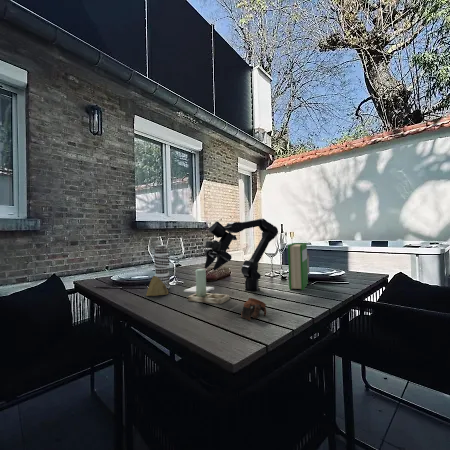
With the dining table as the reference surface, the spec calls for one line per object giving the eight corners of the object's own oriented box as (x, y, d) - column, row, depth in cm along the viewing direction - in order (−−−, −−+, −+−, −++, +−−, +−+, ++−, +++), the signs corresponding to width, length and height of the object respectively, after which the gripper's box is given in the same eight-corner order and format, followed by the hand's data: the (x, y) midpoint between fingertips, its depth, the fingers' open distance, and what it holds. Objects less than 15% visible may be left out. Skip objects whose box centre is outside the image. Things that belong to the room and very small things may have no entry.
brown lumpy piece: (236, 316, 115) (243, 296, 118) (257, 325, 116) (264, 305, 118) (244, 317, 104) (252, 295, 106) (268, 327, 104) (275, 305, 107)
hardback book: (303, 290, 152) (301, 245, 153) (289, 289, 155) (287, 245, 155) (307, 284, 169) (306, 242, 169) (295, 283, 172) (293, 242, 172)
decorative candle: (163, 290, 165) (161, 246, 165) (151, 288, 169) (149, 246, 169) (173, 286, 172) (172, 244, 173) (161, 285, 177) (160, 244, 177)
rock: (173, 288, 157) (159, 284, 161) (168, 277, 152) (153, 274, 156) (162, 304, 150) (147, 300, 154) (156, 293, 145) (141, 289, 149)
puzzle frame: (229, 300, 138) (229, 295, 138) (220, 305, 129) (220, 299, 129) (198, 297, 145) (198, 292, 145) (188, 301, 137) (188, 296, 137)
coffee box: (298, 277, 190) (297, 252, 190) (308, 277, 189) (308, 252, 189) (299, 280, 181) (298, 254, 181) (310, 280, 180) (309, 254, 180)
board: (214, 289, 161) (214, 287, 161) (203, 294, 150) (203, 291, 150) (195, 288, 166) (195, 285, 166) (184, 293, 156) (183, 290, 156)
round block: (208, 298, 140) (207, 269, 140) (203, 300, 136) (202, 270, 136) (199, 297, 142) (198, 269, 142) (194, 299, 138) (193, 270, 138)
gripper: (204, 234, 155) (189, 259, 150) (222, 234, 139) (206, 262, 134) (219, 245, 159) (205, 270, 155) (238, 246, 143) (223, 274, 138)
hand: (209, 269), depth 145 cm, fingers open, 9 cm apart
